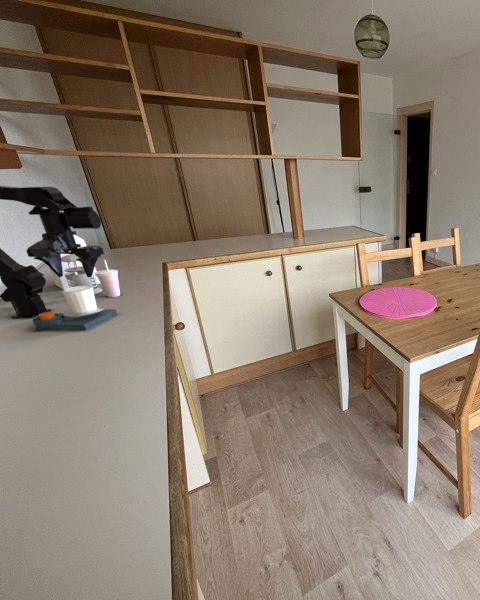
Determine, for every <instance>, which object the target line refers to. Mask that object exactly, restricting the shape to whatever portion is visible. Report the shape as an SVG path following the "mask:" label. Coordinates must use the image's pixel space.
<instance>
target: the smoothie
mask: <svg viewBox="0 0 480 600" xmlns="http://www.w3.org/2000/svg"><path fill="white" fill-rule="evenodd" d="M103 264H104V266H105V269H103V270H98V271H97V272H96V273H95V274H96V276H97V277H98V279H99V281H100V285H101V287H102V289H103V290H104V293H105V294H106V296H107V298H116V297H120V296H121V290H120V284H119V277H118V276H119V275H118V274H119V272H118V271H119V270H118V269H109V266H108V263H107V260H106V259H103Z"/></svg>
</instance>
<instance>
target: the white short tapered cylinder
mask: <svg viewBox="0 0 480 600" xmlns="http://www.w3.org/2000/svg"><path fill="white" fill-rule="evenodd" d="M61 293H62V295H63V297H64V299H65V301H66V302H67V305H68V306H69V309H71V310H72V312H73V313H83V312H88V311H92V310H94V309H96V308H97V306H96V304H97V302H96V297H95V294H94V292H93V287H92V286H87V285H85V286H76V287H71V288H67V289H64V290H63V289H62V290H61Z"/></svg>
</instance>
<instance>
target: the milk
mask: <svg viewBox="0 0 480 600" xmlns="http://www.w3.org/2000/svg"><path fill="white" fill-rule="evenodd" d="M73 236H74V239H75V242H76V244H80V245H81V247H85V246H87V243H86V241H85V240H84V238H82V237H80V236H78V235H77V234H76V235H73ZM41 240H43V238H42V237H41ZM78 248H80V247H78ZM69 252H71V251H69ZM60 255H61V258H62V257H64V256H66V255H70V254H60ZM70 263H71V264H69V266H68V262H62V269H63V276H62V277H58V276H57V275H56V274H55V273H54V272H53V270H52V269H51V268H50V267H49V269H50V273H51V275H52V279H53V281H54V284H55V286H57V287H58V288H60V289H62V290H64V289H67V288H69V285H68V282H67V280H66V277H65V274H66V273H68V272H65V271H64V270H65V269H68V268H69V267H70V268H73V267H76V265H77V267H82V263H81V262H80V261H76V265H75V266H74V264H73V263H74V262H70ZM96 272H98V271H97V268H96V266H95V267H94V270H93V274H94V276H95V277H94V278H95V279H96V280H95V281H96V282H97V283H96V284H97V285H101V283H100V281H99V279H98V277H97V276H96V274H95V273H96ZM75 275H78V274H77V272H75ZM91 280H92V279H91ZM68 281H70V280H68ZM92 283H94V282H92ZM69 284H70V283H69ZM70 285H71V284H70ZM70 287H71V286H70Z"/></svg>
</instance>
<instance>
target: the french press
mask: <svg viewBox="0 0 480 600" xmlns="http://www.w3.org/2000/svg"><path fill="white" fill-rule="evenodd" d="M77 258H78V257H77V256H76V255H75V254H70V255H66V256H64V257H62V258H61V262H68V266H69V264H71V263H70V262H74V263H73V264H74V266H75V265H76V261H78V260H76V259H77ZM64 271H65V272H68V273H66V274H65V277H66V280H67V282H68V285H69V288H71V287H76V286H85V285H87V286H92V287H93V292H94V295H96V294H99V293H101V292H102V291H103V288H101V287H99V284H96V283H97V282H96V281H95V280H96V279H95V278H94V277H95V276H94V274H92V277H87V275H86V273H85V271H84V268H83V266H82V267H77V265H76V267H73V268H70V267H69V268H68V269H65V270H64ZM75 272H77V274H78V275H75ZM91 279H92V280H91ZM68 280H70V281H68ZM92 282H94V283H92ZM69 283H70V284H71V285H70V284H69ZM70 286H71V287H70Z"/></svg>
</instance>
